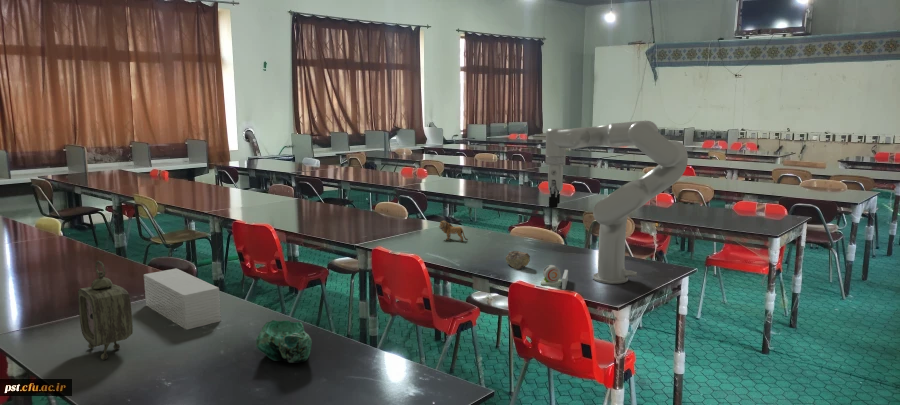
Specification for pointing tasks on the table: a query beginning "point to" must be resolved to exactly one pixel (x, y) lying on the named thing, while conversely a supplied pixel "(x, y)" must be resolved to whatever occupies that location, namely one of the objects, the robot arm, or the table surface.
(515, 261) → the rock
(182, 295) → the stack of papers
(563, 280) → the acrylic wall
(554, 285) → the mat
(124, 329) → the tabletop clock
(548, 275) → the roller toy
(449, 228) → the lion figurine
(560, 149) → the robot arm
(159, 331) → the table surface
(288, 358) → the mineral
